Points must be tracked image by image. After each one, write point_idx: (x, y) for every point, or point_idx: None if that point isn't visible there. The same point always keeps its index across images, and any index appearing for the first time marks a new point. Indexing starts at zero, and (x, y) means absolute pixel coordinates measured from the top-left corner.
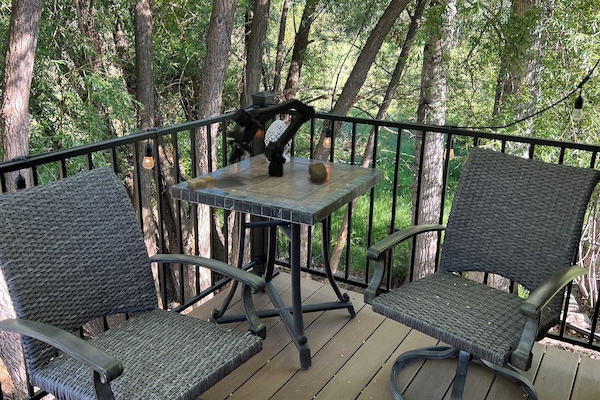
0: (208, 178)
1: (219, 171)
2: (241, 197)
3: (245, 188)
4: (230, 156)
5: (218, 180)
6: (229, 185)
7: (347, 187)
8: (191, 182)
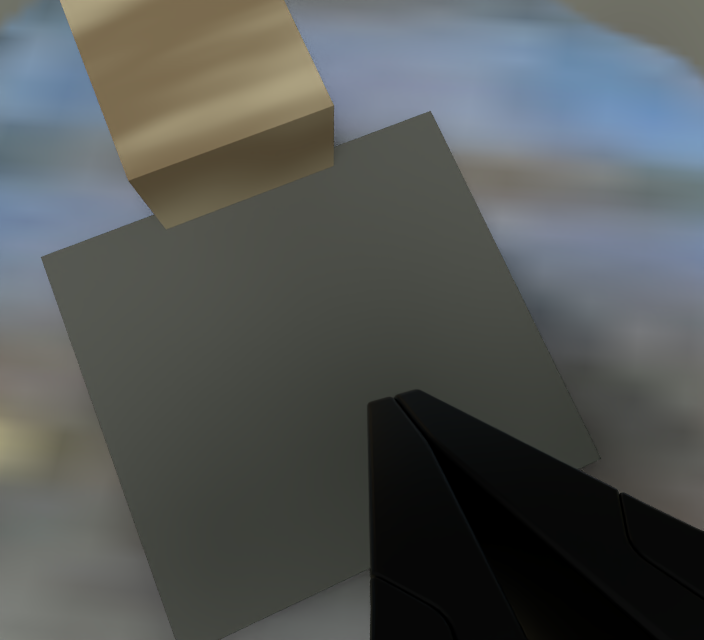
0: (184, 74)
1: None
2: None
3: (15, 626)
4: (471, 475)
5: (453, 273)
6: (172, 400)
7: None
8: None
